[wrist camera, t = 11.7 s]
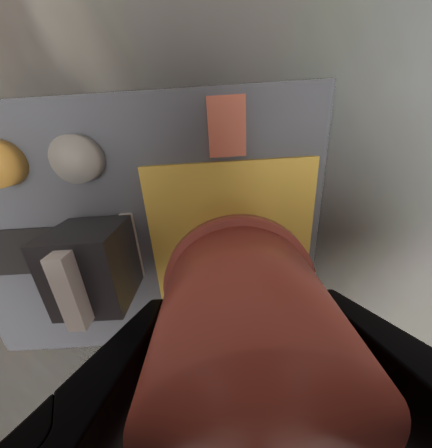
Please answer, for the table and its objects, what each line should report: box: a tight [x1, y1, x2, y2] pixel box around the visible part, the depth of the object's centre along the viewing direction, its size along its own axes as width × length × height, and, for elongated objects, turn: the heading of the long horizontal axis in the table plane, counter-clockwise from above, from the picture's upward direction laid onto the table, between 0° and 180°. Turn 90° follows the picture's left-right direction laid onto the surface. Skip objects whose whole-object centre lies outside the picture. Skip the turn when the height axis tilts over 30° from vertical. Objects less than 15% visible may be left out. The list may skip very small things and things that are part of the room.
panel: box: [0, 78, 336, 351], centre depth 12 cm, size 14×19×2 cm
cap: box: [123, 214, 411, 448], centre depth 6 cm, size 5×5×5 cm
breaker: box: [20, 215, 143, 332], centre depth 10 cm, size 4×3×4 cm
